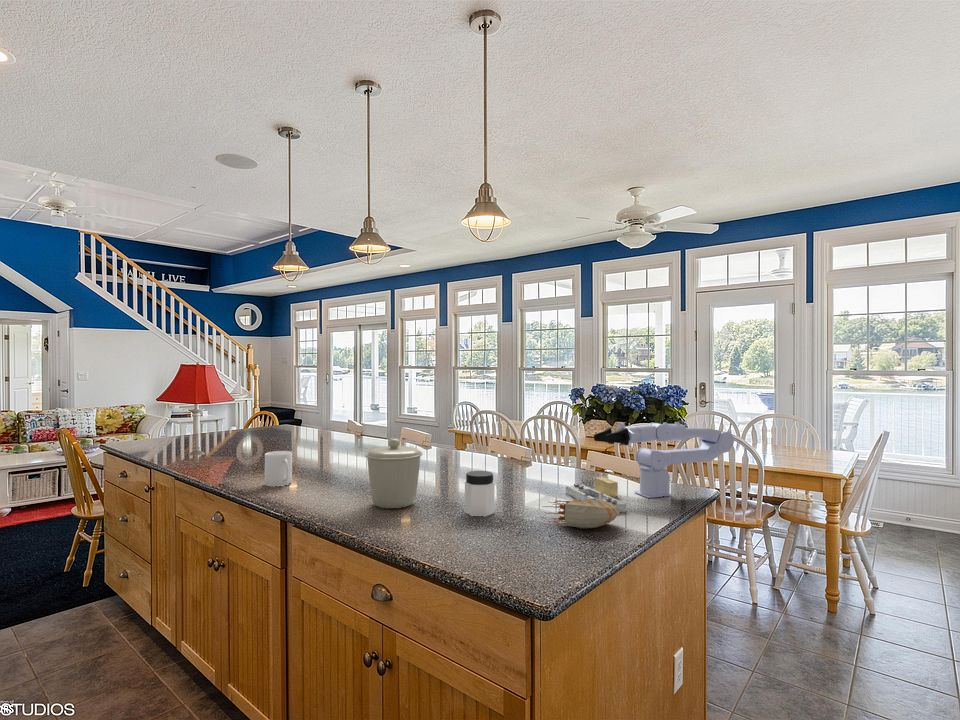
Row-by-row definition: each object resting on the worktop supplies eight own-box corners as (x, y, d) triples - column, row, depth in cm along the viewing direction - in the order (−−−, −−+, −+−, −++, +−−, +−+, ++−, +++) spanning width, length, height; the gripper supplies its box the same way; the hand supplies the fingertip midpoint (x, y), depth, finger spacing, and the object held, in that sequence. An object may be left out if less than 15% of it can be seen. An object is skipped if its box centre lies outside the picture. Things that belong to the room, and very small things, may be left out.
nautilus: (534, 529, 145) (551, 517, 159) (612, 536, 136) (624, 523, 149) (533, 500, 146) (550, 491, 159) (611, 504, 137) (622, 494, 150)
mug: (279, 480, 201) (280, 450, 201) (302, 484, 195) (302, 452, 196) (258, 485, 193) (259, 453, 193) (281, 489, 187) (281, 456, 187)
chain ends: (582, 491, 185) (582, 482, 185) (626, 511, 161) (626, 501, 161) (565, 493, 183) (565, 483, 183) (607, 513, 158) (607, 502, 158)
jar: (498, 515, 157) (498, 474, 157) (473, 518, 153) (473, 477, 153) (485, 507, 165) (485, 469, 165) (461, 510, 161) (461, 471, 161)
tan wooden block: (603, 490, 187) (603, 476, 187) (617, 497, 179) (617, 482, 179) (594, 491, 186) (594, 477, 186) (608, 497, 178) (608, 483, 178)
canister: (353, 505, 167) (353, 438, 167) (398, 494, 180) (398, 433, 180) (388, 516, 155) (388, 445, 155) (434, 504, 168) (434, 438, 168)
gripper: (622, 422, 187) (588, 425, 183) (646, 422, 173) (610, 426, 169) (624, 442, 186) (590, 446, 182) (649, 444, 172) (612, 448, 168)
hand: (600, 438), depth 176 cm, fingers open, 7 cm apart
